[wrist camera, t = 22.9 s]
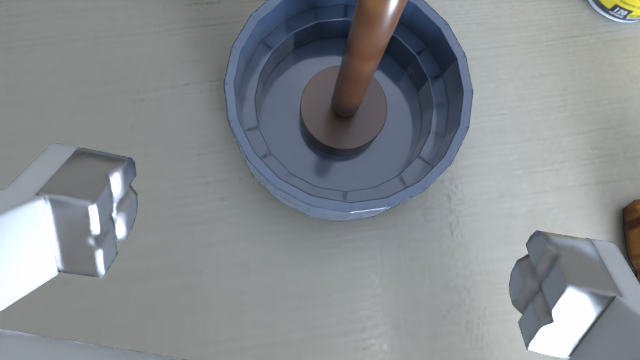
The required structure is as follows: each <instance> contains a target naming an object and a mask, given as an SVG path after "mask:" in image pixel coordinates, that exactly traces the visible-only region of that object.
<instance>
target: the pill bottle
mask: <svg viewBox="0 0 640 360" xmlns="http://www.w3.org/2000/svg"><path fill="white" fill-rule="evenodd" d="M588 1H589V3H590V4H591V5H592V6H593V8H594V9H595V10H597V11H598V12H599V13H600V14H602V15H604V16H605V17H607V18H609V19H612V20H615V21H618V22H637V21H640V0H588Z"/></svg>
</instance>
